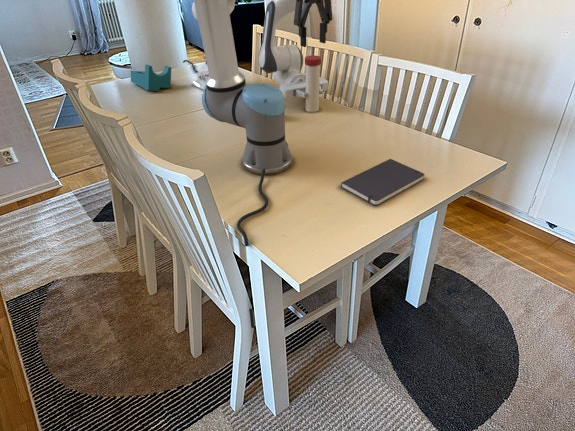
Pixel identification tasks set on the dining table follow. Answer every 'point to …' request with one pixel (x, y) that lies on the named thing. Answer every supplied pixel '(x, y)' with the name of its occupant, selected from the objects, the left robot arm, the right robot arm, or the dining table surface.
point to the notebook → (382, 181)
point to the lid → (312, 60)
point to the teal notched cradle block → (152, 78)
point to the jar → (312, 88)
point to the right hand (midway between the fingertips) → (313, 44)
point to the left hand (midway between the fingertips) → (313, 93)
